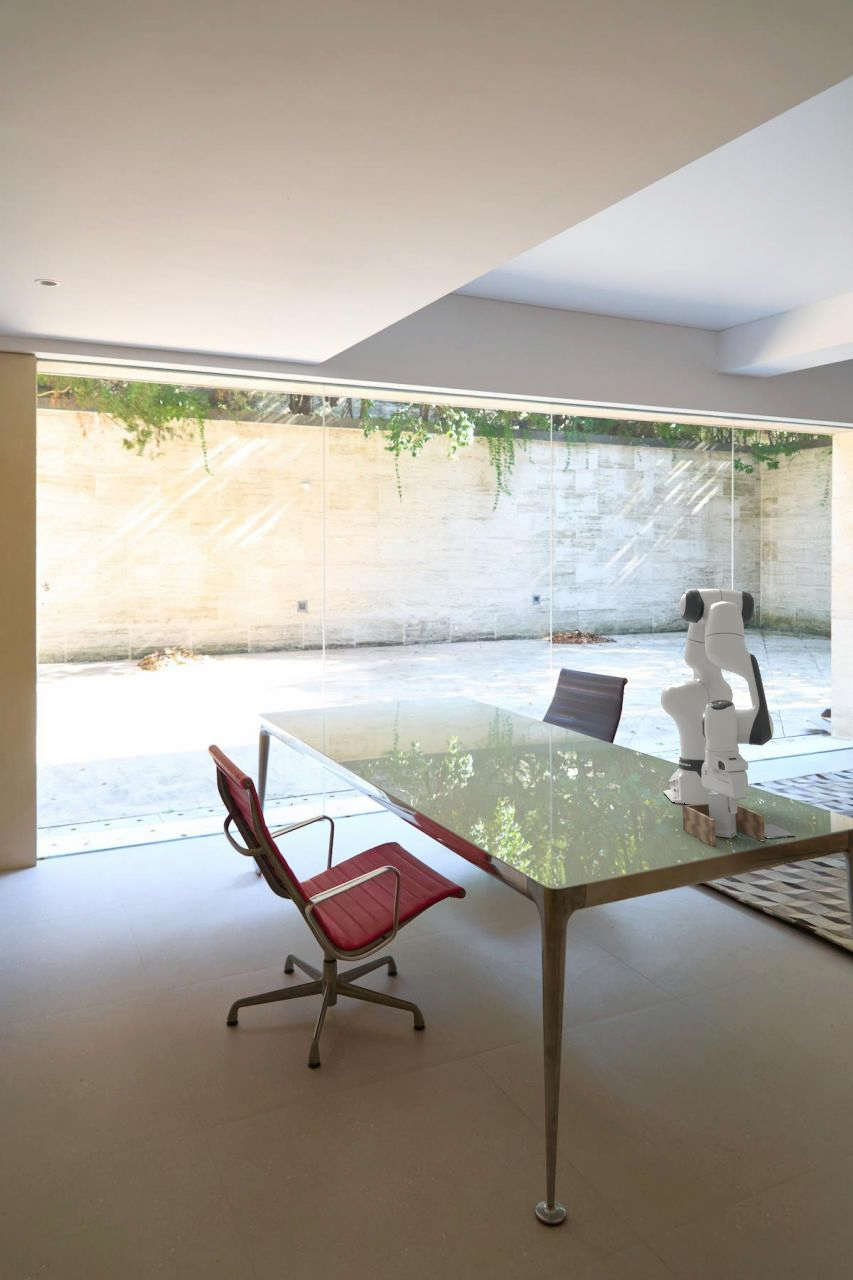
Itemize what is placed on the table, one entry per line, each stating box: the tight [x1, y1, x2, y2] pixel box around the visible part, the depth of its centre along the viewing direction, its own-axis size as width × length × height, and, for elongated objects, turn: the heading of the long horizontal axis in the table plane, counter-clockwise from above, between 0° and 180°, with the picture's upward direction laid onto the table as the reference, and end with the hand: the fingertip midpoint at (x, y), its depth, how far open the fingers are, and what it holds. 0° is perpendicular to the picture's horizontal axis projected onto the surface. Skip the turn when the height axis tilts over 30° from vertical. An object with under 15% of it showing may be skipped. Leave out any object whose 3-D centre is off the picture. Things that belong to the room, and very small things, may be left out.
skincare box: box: [708, 791, 738, 839], centre depth 257 cm, size 6×4×12 cm
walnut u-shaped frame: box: [682, 803, 766, 847], centre depth 257 cm, size 18×15×7 cm
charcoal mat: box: [764, 824, 796, 838], centre depth 258 cm, size 12×8×1 cm, turn 9°
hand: (724, 809), depth 256 cm, fingers open, 8 cm apart
